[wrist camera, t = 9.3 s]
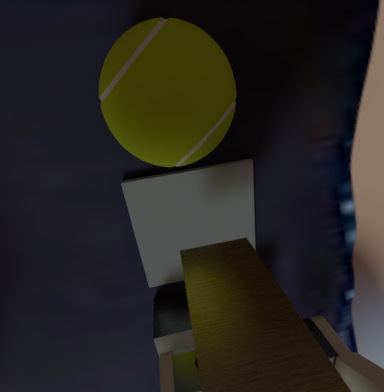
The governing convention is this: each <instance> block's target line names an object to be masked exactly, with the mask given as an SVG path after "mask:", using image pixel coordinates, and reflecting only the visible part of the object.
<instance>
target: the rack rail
mask: <svg viewBox="0 0 384 392" xmlns="http://www.w3.org/2000/svg"><path fill="white" fill-rule="evenodd" d="M154 341H155V345H156V348H157V351H158V355H159V358H160V354H161V353H165V352H169V351H175V350H179V349H183V348H187V347H192V346H195V343H194V337H193V331H192V324H191V318H190V312H189V306H188V299H187V293H186V292H182V293H178V294H173V295H169V296H164V297H160V298H156V299H154Z"/></svg>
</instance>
